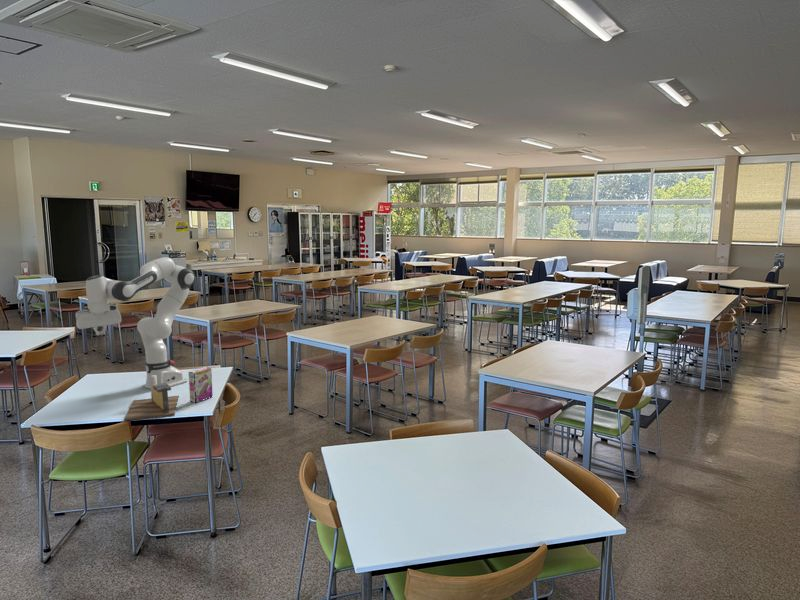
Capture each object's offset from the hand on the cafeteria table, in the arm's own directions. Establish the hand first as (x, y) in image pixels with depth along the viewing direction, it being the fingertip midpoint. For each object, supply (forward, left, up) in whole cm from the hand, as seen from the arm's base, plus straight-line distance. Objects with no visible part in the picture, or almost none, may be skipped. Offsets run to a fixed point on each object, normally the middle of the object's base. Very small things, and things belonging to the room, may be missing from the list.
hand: (100, 334), depth 271 cm
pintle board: (-13, +24, -37) cm, 46 cm away
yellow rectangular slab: (-16, +24, -36) cm, 46 cm away
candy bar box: (-36, +30, -37) cm, 60 cm away
